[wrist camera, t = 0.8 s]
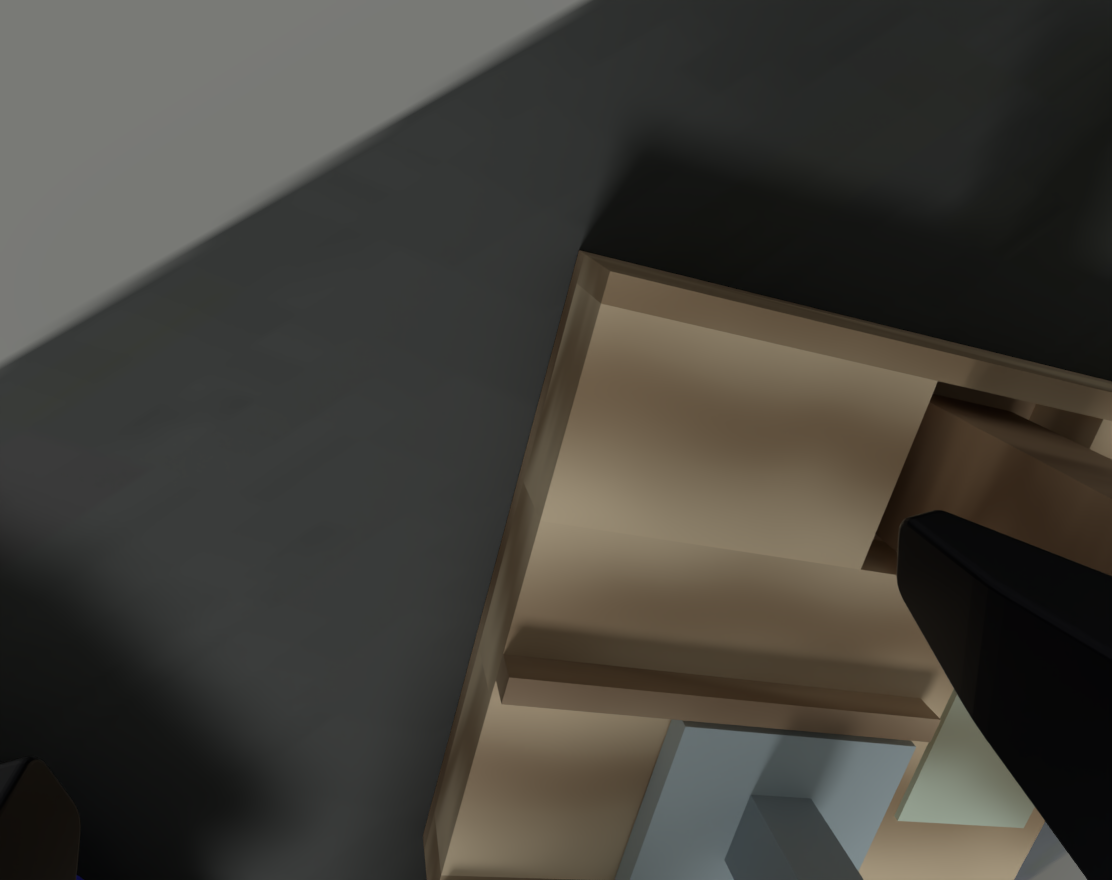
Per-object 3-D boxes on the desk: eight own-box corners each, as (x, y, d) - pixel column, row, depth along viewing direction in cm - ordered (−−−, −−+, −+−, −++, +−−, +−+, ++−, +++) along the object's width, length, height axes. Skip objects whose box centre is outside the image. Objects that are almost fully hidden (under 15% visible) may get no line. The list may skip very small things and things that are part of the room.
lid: (825, 895, 28) (889, 1006, 25) (610, 889, 26) (649, 1009, 23) (900, 728, 26) (983, 824, 23) (675, 707, 24) (728, 808, 21)
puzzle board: (937, 858, 34) (1008, 950, 30) (422, 835, 28) (432, 946, 24) (1167, 395, 28) (1289, 439, 24) (578, 250, 22) (622, 279, 19)
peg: (957, 530, 27) (1259, 746, 18) (848, 511, 26) (1111, 731, 17) (1010, 411, 26) (1360, 578, 17) (898, 386, 25) (1209, 550, 16)
